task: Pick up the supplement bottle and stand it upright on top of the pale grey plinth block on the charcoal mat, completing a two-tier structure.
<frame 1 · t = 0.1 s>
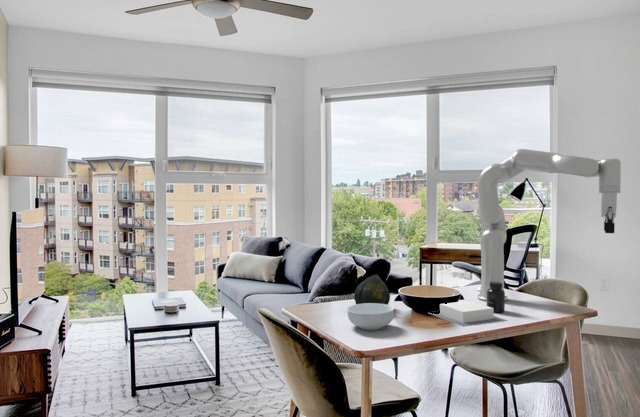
hand: (609, 232, 205), 31 cm above the table, tool pointing down, fingers open, 9 cm apart
plinth block: (466, 316, 195), resting on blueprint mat
cereal bowl: (370, 327, 183), on the table
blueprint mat: (466, 318, 195), on the table
squash: (372, 310, 209), on the table
supplement bottle: (495, 313, 203), on the table
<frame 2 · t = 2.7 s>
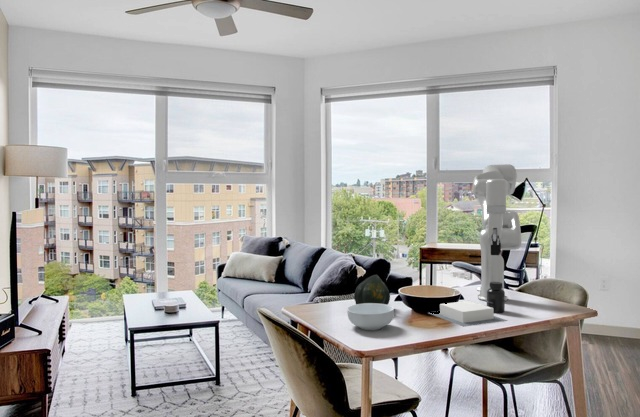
hand: (495, 253, 201), 24 cm above the table, tool pointing down, fingers open, 9 cm apart
nothing on the table moved.
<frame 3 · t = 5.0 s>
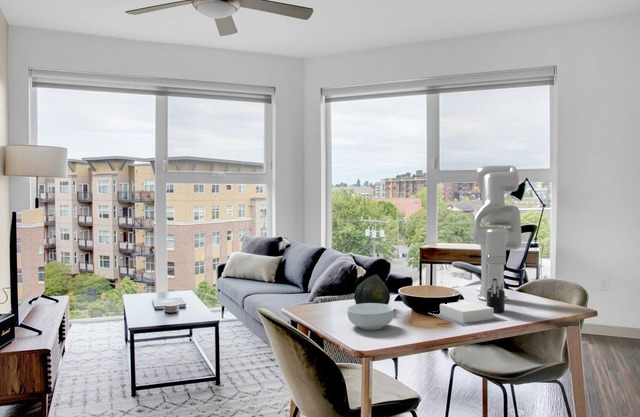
hand: (495, 304, 202), 3 cm above the table, tool pointing down, fingers closed on supplement bottle, 6 cm apart
supplement bottle: (495, 313, 203), on the table, touching gripper
everything else where it was.
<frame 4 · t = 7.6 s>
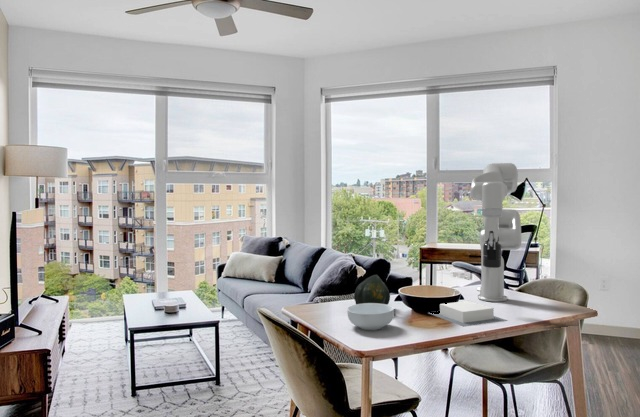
hand: (492, 258, 200), 22 cm above the table, tool pointing down, fingers closed on supplement bottle, 6 cm apart
supplement bottle: (492, 267, 201), point 18 cm above the table, touching gripper
everything else where it was.
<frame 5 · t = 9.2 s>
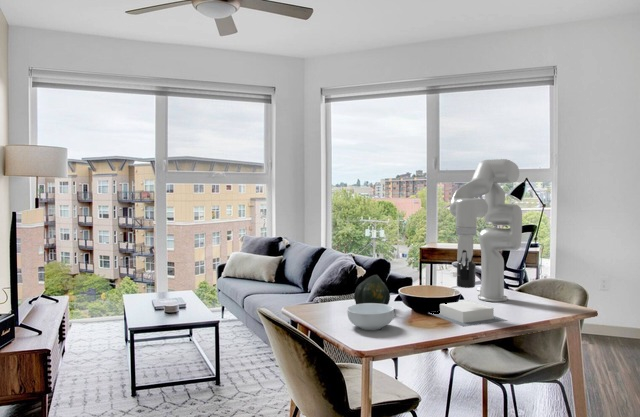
hand: (465, 278, 194), 15 cm above the table, tool pointing down, fingers closed on supplement bottle, 6 cm apart
supplement bottle: (466, 287, 194), point 12 cm above the table, touching gripper
everything else where it was.
when the fingers open (9 cm above the table, at t = 10.6 s): supplement bottle drops 1 cm, resting on plinth block.
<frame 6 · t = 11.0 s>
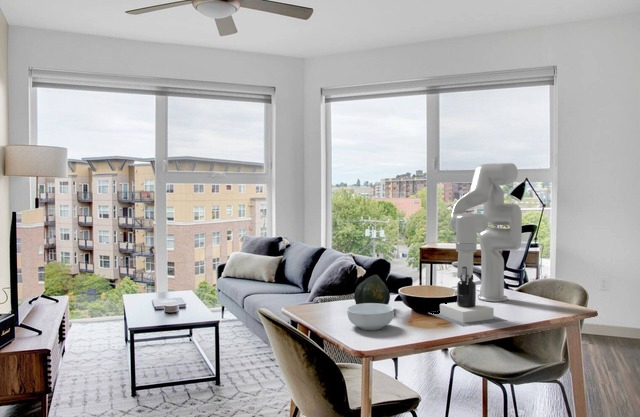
hand: (466, 292, 194), 10 cm above the table, tool pointing down, fingers open, 9 cm apart
supplement bottle: (466, 306, 195), point 4 cm above the table, touching plinth block
everything else where it was.
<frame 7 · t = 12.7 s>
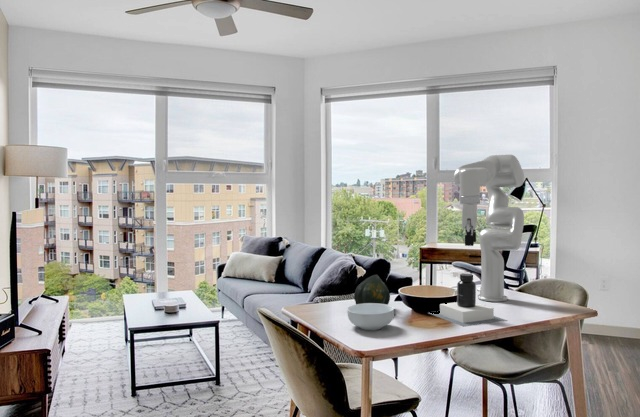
hand: (470, 243, 200), 28 cm above the table, tool pointing down, fingers open, 9 cm apart
nothing on the table moved.
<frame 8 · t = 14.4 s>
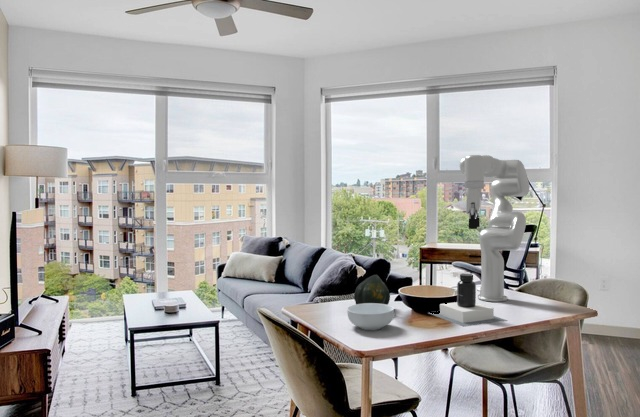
hand: (474, 228, 207), 33 cm above the table, tool pointing down, fingers open, 9 cm apart
nothing on the table moved.
at the end: supplement bottle inside the target area on the plinth block (0.4 cm from its centre), point 3.8 cm above the plinth block's base; supplement bottle tilted 0°; the gripper is holding nothing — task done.
